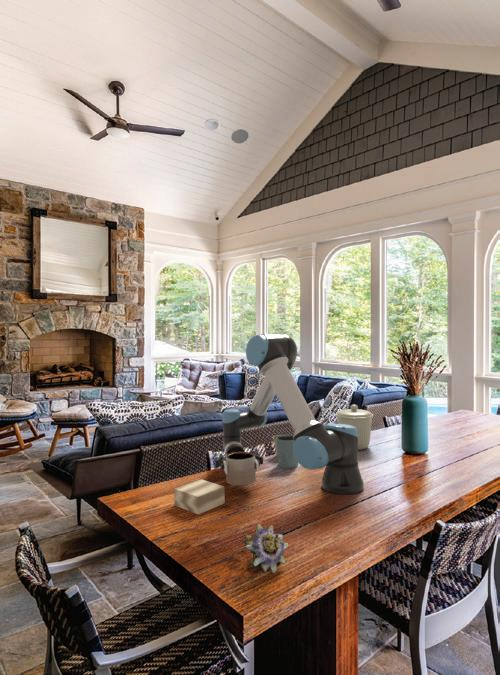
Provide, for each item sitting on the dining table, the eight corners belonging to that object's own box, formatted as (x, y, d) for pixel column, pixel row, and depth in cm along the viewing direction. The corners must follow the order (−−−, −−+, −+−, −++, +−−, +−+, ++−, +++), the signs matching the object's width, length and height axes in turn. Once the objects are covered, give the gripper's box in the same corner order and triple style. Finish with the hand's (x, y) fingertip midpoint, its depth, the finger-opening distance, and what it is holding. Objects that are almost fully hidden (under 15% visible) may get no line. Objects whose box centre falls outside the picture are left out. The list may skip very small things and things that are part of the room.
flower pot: (292, 459, 201) (291, 440, 200) (271, 458, 202) (271, 439, 202) (294, 453, 210) (293, 435, 210) (274, 452, 212) (274, 434, 211)
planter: (259, 478, 165) (259, 452, 165) (250, 488, 155) (249, 460, 155) (232, 476, 169) (231, 451, 169) (221, 485, 159) (220, 458, 158)
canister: (345, 441, 230) (344, 400, 229) (379, 445, 219) (378, 403, 219) (329, 449, 215) (328, 406, 215) (365, 454, 204) (364, 409, 204)
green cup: (273, 467, 189) (272, 439, 189) (280, 460, 198) (280, 434, 198) (296, 469, 185) (295, 441, 185) (302, 462, 194) (302, 435, 194)
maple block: (224, 503, 151) (224, 486, 151) (198, 515, 142) (197, 496, 142) (201, 495, 159) (200, 479, 159) (174, 506, 150) (174, 488, 150)
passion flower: (273, 593, 108) (258, 568, 101) (242, 569, 115) (226, 544, 109) (300, 555, 113) (287, 528, 107) (269, 534, 121) (256, 508, 114)
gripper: (263, 459, 181) (274, 476, 160) (206, 464, 178) (210, 481, 156) (262, 441, 181) (273, 455, 160) (205, 445, 178) (209, 460, 156)
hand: (242, 468), depth 158 cm, fingers closed on planter, 11 cm apart
